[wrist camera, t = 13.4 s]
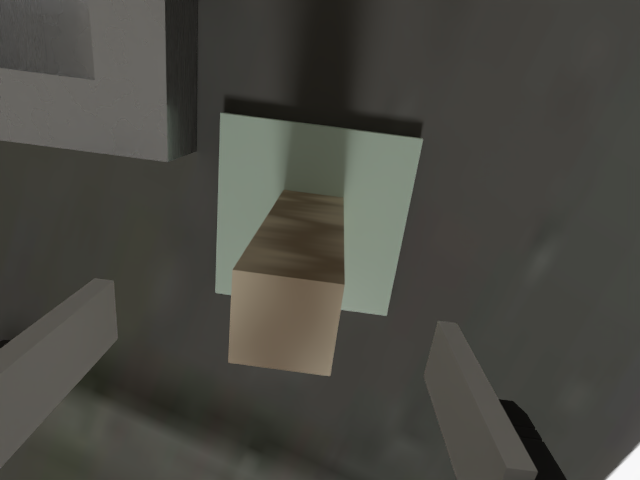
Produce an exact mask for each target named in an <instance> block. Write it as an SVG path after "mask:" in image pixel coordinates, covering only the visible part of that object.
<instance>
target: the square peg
mask: <svg viewBox="0 0 640 480" xmlns="http://www.w3.org/2000/svg"><path fill="white" fill-rule="evenodd" d="M344 286H345V269H344V198H343V197H336V196H328V195H320V194H313V193H305V192H297V191H290V190H283V191H282V193H281V195H280V196H279V198H278V199H277V201H276V202H275V204H274V206H273V207H272V209H271V210H270V212H269V213H268V215H267V217H266V218H265V220H264V221H263V223H262V224H261V226H260V227H259V229H258V231H257V232H256V234H255V235H254V237H253V238H252V240H251V242H250V243H249V245H248V246H247V248H246V249H245V251H244V252H243V254H242V256H241V257H240V259H239V260H238V262H237V263H236V265H235V267H234V268H233V270H232V290H231V312H230V335H229V357H228V363H235V364H242V365H250V366H257V367H265V368H272V369H280V370H287V371H294V372H302V373H309V374H317V375H324V376H330V374H331V368H332V361H333V355H334V349H335V343H336V336H337V330H338V324H339V317H340V311H341V305H342V299H343V292H344Z"/></svg>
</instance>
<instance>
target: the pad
mask: <svg viewBox="0 0 640 480" xmlns="http://www.w3.org/2000/svg"><path fill="white" fill-rule="evenodd" d="M422 142H423V139H422V138H419V137H411V136H404V135H396V134H388V133H380V132H373V131H365V130H357V129H349V128H342V127H334V126H326V125H318V124H311V123H303V122H295V121H287V120H279V119H272V118H264V117H256V116H248V115H241V114H233V113H225V112H224V113H220V145H219V180H218V216H217V251H216V287H215V293H220V294H227V295H231V290H232V270H233V268H234V267H235V265H236V263H237V262H238V260H239V259H240V257H241V256H242V254H243V252H244V251H245V249H246V248H247V246H248V245H249V243H250V242H251V240H252V238H253V237H254V235H255V234H256V232H257V231H258V229H259V227H260V226H261V224H262V223H263V221H264V220H265V218H266V217H267V215H268V213H269V212H270V210H271V209H272V207H273V206H274V204H275V202H276V201H277V199H278V198H279V196H280V195H281V193H282V191H283V190H290V191H297V192H305V193H313V194H320V195H328V196H336V197H343V198H344V269H345V286H344V292H343V299H342V305H341V310H347V311H355V312H362V313H370V314H377V315H385V316H387V311H388V306H389V301H390V297H391V292H392V287H393V282H394V277H395V272H396V268H397V263H398V258H399V253H400V248H401V244H402V239H403V234H404V229H405V224H406V219H407V215H408V210H409V205H410V200H411V195H412V191H413V186H414V181H415V176H416V171H417V167H418V162H419V157H420V152H421V147H422Z"/></svg>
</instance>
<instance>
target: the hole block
mask: <svg viewBox="0 0 640 480" xmlns="http://www.w3.org/2000/svg"><path fill="white" fill-rule="evenodd" d="M197 9H198V0H0V140H3V141H11V142H18V143H26V144H34V145H41V146H49V147H57V148H64V149H72V150H80V151H87V152H95V153H103V154H110V155H118V156H126V157H133V158H141V159H149V160H157V161H164V162H169V161H172V160H174V159H177V158H180V157H183V156H185V155H188V154H191V153H194V152H196V138H197Z"/></svg>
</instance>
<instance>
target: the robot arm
mask: <svg viewBox="0 0 640 480" xmlns="http://www.w3.org/2000/svg"><path fill="white" fill-rule="evenodd" d="M117 339H118V333H117V319H116V305H115V291H114V281H113V280H105V279H97V278H94V279H93V280H92V281H90V282H89V283H88V284H86V285H85V286H84V287H82V288H81V289H80V290H78V291H77V292H76V293H74V294H73V295H72V296H70V297H69V298H68V299H66V300H65V301H64V302H62V303H61V304H59V305H58V306H57V307H55V308H54V309H53V310H51V311H50V312H49V313H47V314H46V315H45V316H43V317H42V318H41V319H39V320H38V321H37V322H35V323H34V324H33V325H31V326H30V327H29V328H27V329H26V330H25V331H23V332H22V333H21V334H19V335H18V336H16V337H15V338H14V339H12V340H11V341H10V340H3V341H0V468H1V467H2V466H3V465H4V464H5V463H6V462H7V460H8V459H9V458H10V457H11V456H12V455H13V454H14V453H15V452H16V451H17V449H18V448H19V447H20V446H21V445H22V444H23V443H24V442H25V441H26V439H27V438H28V437H29V436H30V435H31V434H32V433H33V432H34V431H35V430H36V428H37V427H38V426H39V425H40V424H41V423H42V422H43V421H44V420H45V419H46V417H47V416H48V415H49V414H50V413H51V412H52V411H53V410H54V409H55V408H56V406H57V405H58V404H59V403H60V402H61V401H62V400H63V399H64V398H65V396H66V395H67V394H68V393H69V392H70V391H71V390H72V389H73V388H74V387H75V385H76V384H77V383H78V382H79V381H80V380H81V379H82V378H83V377H84V376H85V374H86V373H87V372H88V371H89V370H90V369H91V368H92V367H93V366H94V365H95V363H96V362H97V361H98V360H99V359H100V358H101V357H102V356H103V355H104V353H105V352H106V351H107V350H108V349H109V348H110V347H111V346H112V345H113V344H114V342H115V341H116V340H117ZM424 379H425V382H426V385H427V389H428V392H429V395H430V398H431V401H432V404H433V407H434V410H435V413H436V417H437V420H438V423H439V426H440V429H441V432H442V435H443V438H444V441H445V445H446V448H447V451H448V454H449V457H450V460H451V463H452V466H453V469H454V473H455V476H456V479H457V480H567V479H566V478H565V476H564V474H563V473H562V471H561V469H560V468H559V466H558V464H557V463H556V461H555V460H554V458H553V456H552V455H551V453H550V451H549V450H548V448H547V446H546V445H545V443H544V442H542V438H541V437H540V435H539V433H538V432H537V430H535V427H534V425H533V424H532V422H531V420H530V419H529V417H528V415H527V414H526V413H525V412H524V411H523V410H522V409H521V408H520V407H519V406H518V405H517V404H516V403H515V402H513V401H508V400H500V399H498V398H497V396H496V394H495V392H494V390H493V389H492V387H491V385H490V383H489V381H488V379H487V378H486V376H485V374H484V372H483V370H482V368H481V367H480V365H479V363H478V361H477V359H476V357H475V356H474V354H473V352H472V350H471V348H470V346H469V345H468V343H467V341H466V339H465V337H464V335H463V334H462V332H461V330H460V328H459V326H458V325H457V323H452V322H444V321H438V323H437V326H436V330H435V334H434V338H433V342H432V346H431V349H430V353H429V357H428V361H427V365H426V369H425V373H424Z"/></svg>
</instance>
